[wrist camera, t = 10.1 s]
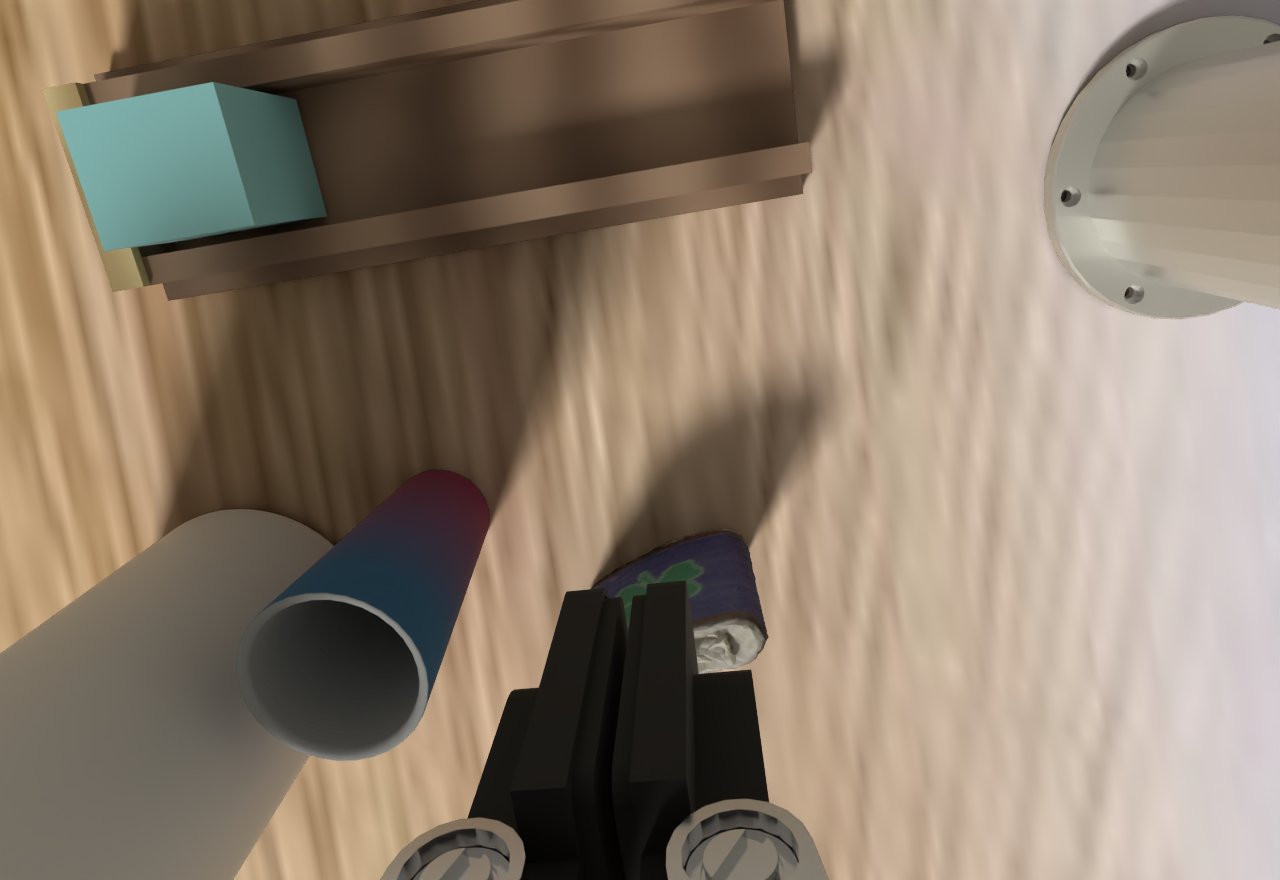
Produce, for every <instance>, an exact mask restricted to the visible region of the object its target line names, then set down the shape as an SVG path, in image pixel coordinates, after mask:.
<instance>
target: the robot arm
mask: <svg viewBox="0 0 1280 880" xmlns="http://www.w3.org/2000/svg"><path fill="white" fill-rule="evenodd" d="M1127 65H1128V66H1129V67H1130V69H1131V72H1130V75H1129V76H1128V77H1127V74H1126V68H1127ZM1063 191H1065V192H1066V194H1067V197H1066V199H1065V200H1064V201H1063V202H1061V199H1060V198H1061V194H1062V192H1063ZM1044 210H1045V216H1046V222H1047V228H1048V233H1049V235H1050V238H1051V240H1052V243H1053V246H1054V248H1055V251H1056V253H1057V256H1058V257H1059V259H1060V260H1061V262H1062V263H1063V265H1064V266H1065V268H1066V269H1067V271H1068V272H1069V274H1070V275H1071V276H1072V277H1073V278H1074V279H1075V280H1076V281H1077V282H1078V283H1079V284H1080V285H1081V286H1082V287H1083V288H1084V289H1085V290H1086V291H1087V292H1088V293H1090V294H1091V295H1093V296H1095V297H1096V298H1098V299H1100V300H1101V301H1103V302H1105V303H1106V304H1108V305H1110V306H1113V307H1116V308H1118V309H1121V310H1124V311H1127V312H1130V313H1133V314H1138V315H1142V316H1147V317H1151V318H1158V319H1186V318H1193V317H1200V316H1206V315H1211V314H1214V313H1217V312H1220V311H1223V310H1226V309H1229V308H1232V307H1235V306H1237V305H1239V304H1241V303H1243V302H1248V303H1253V304H1257V305H1262V306H1266V307H1271V308H1276V309H1280V25H1278V24H1276V23H1273V22H1270V21H1268V20H1265V19H1260V18H1253V17H1245V16H1238V15H1229V16H1216V17H1204V18H1200V19H1196V20H1193V21H1189V22H1185V23H1181V24H1177V25H1175V26H1172V27H1170V28H1167V29H1164V30H1162V31H1159V32H1156V33H1154V34H1151V35H1149V36H1147V37H1145V38H1144V39H1142V40H1140V41H1139V42H1137V43H1135V44H1134V45H1132V46H1130V47H1129V48H1127V49H1125V50H1123V51H1122V52H1121V53H1120V54H1118V55H1117V56H1116V57H1115V58H1114V59H1112V60H1111V61H1110V62H1109V63H1108V64H1107V65H1105V66H1104V67H1103V68H1102V69H1101V70H1099V71H1098V72H1097V74H1096V75H1095V76H1094V77H1093V78H1092V79H1091V81H1090V82H1089V83H1088V84H1087V85H1086V86H1085V88H1084V89H1083V90H1082V91H1081V92H1080V93H1079V95H1078V96H1077V98H1076V99H1075V101H1074V102H1073V104H1072V106H1071V107H1070V109H1069V111H1068V112H1067V114H1066V116H1065V117H1064V119H1063V121H1062V122H1061V125H1060V127H1059V130H1058V132H1057V135H1056V137H1055V140H1054V142H1053V145H1052V147H1051V150H1050V154H1049V159H1048V164H1047V169H1046V173H1045V178H1044ZM1128 288H1129V293H1128V294H1127V295H1126V296H1125V297H1124V295H1125V291H1126V290H1127V289H1128ZM380 880H829V879H828V876H827V874H826V871H825V869H824V866H823V864H822V861H821V859H820V856H819V854H818V851H817V849H816V846H815V844H814V841H813V839H812V837H811V835H810V834H809V832H808V831H807V829H806V827H805V826H804V824H803V823H802V822H801V821H800V820H799V819H797V818H796V817H795V816H794V815H792V814H791V813H790V812H789V811H787V810H785V809H783V808H781V807H778V806H776V805H774V804H771V803H769V798H768V791H767V783H766V776H765V768H764V761H763V754H762V746H761V739H760V731H759V724H758V716H757V709H756V701H755V694H754V687H753V679H752V672H751V670H741V671H729V672H717V673H706V674H699V671H698V663H697V655H696V647H695V640H694V632H693V624H692V616H691V608H690V600H689V593H688V586H687V581H686V580H685V581H674V582H663V583H653V584H647V590H646V595H635V596H633V598H632V606H631V615H630V623H629V631H628V627H627V621H626V614H625V608H624V603H623V599H622V597H614V598H609V595H608V591H607V589H606V588H600V589H590V590H579V591H569V592H566V594H565V597H564V601H563V604H562V608H561V611H560V615H559V618H558V622H557V626H556V629H555V633H554V636H553V640H552V643H551V647H550V650H549V654H548V657H547V661H546V665H545V668H544V672H543V675H542V679H541V682H540V686H539V688H529V689H517V690H513V691H512V692H511V693H510V695H509V697H508V699H507V702H506V705H505V708H504V711H503V714H502V717H501V720H500V723H499V726H498V729H497V732H496V735H495V738H494V741H493V744H492V747H491V750H490V753H489V756H488V759H487V762H486V765H485V768H484V771H483V774H482V777H481V780H480V783H479V786H478V789H477V792H476V795H475V798H474V800H473V803H472V806H471V809H470V812H469V815H468V818H467V819H459V820H455V821H452V822H449V823H445V824H442V825H439V826H437V827H435V828H433V829H431V830H429V831H427V832H425V833H424V834H422V835H420V836H418V837H417V838H416V839H414V840H413V841H412V842H411V843H410V844H408V845H407V846H406V847H405V848H403V849H402V850H401V851H400V852H399V854H398V855H397V856H396V857H395V859H394V860H393V861H392V862H391V864H390V865H389V866H388V868H387V869H386V871H385V873H384V874H383V876H382V878H381V879H380Z"/></svg>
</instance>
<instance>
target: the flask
mask: <svg viewBox="0 0 1280 880" xmlns="http://www.w3.org/2000/svg"><path fill="white" fill-rule="evenodd" d="M685 580H686V581H687V586H688V593H689V600H690V608H691V616H692V624H693V632H694V640H695V647H696V655H697V663H698V671H699V674H703V673H706V672H710V671H717V670H722V669H735V668H738V667H740V666H743V665H745V664H748V663H750V662H752V661H753V660H754V659H756V658H757V655H758V654H759V653H760V652H761V651H762V650H763V648H764V645H765V643H766V641H767V639H768V635H767V630H766V627H765V622H764V617H763V614H762V609H761V605H760V600H759V596H758V592H757V588H756V582H755V576H754V573H753V569H752V562H751V558H750V552H749V549H748V547H747V545H746V544H745V543H744V541H743V539H742V536H741V535H739V534H738V533H737V532H736V531H735V530H729V529H723V528H722V529H720V530H708V531H705V532H701V533H698V534H695V535H691V536H686V537H684V538H683V539H676V540H675V541H671V542H668V543H667V544H665V545H663V546H660V547H657V548H655V549H654V550H653V551H652V552H650V553H647V554H645V555H642V556H641V557H639V558H637V559H636V560H634V561H632V562H630V563H627V564H626V565H625V566H623V567H621V568H620V569H619V568H618V569H617V570H615V571H614V572H612V573H611V574H609V575H607V576H605V577H603V579H602V580H600V581H599V582H598V583H597V584H596V585H594V587H593V588H592V589H600V588H606V589H607V591H608V595H609V598H614V597H622V599H623V603H624V608H625V614H626V621H627V627H628V631H629V623H630V615H631V606H632V598H633V596H635V595H646V590H647V584H653V583H663V582H674V581H685Z"/></svg>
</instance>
